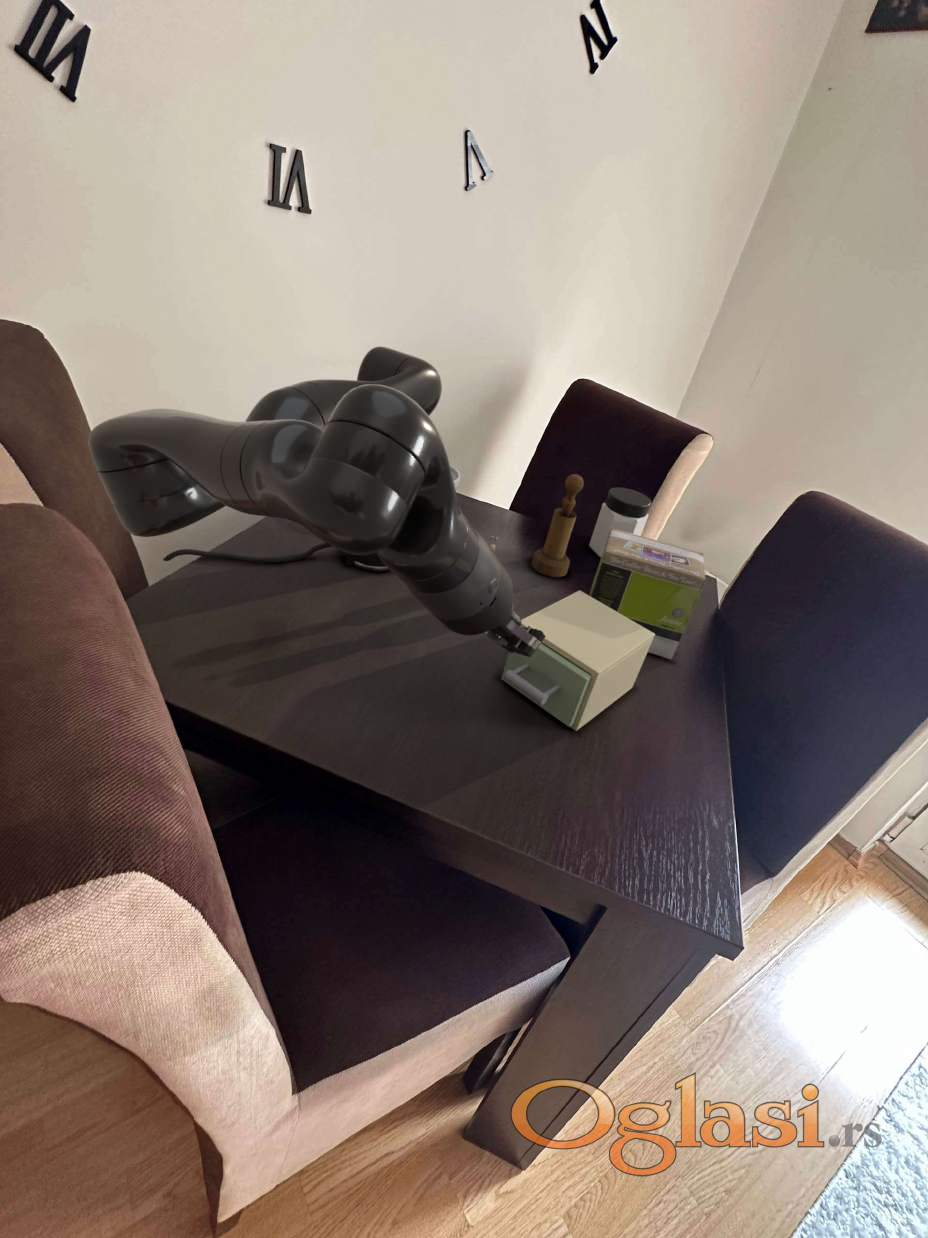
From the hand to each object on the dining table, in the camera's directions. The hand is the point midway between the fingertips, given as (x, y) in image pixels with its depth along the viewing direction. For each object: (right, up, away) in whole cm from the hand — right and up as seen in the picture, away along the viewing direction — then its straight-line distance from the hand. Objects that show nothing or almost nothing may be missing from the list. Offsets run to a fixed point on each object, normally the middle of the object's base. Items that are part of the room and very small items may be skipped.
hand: (513, 643), depth 71 cm
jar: (+24, +16, +58) cm, 65 cm away
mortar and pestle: (+10, +12, +48) cm, 50 cm away
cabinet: (+9, -6, +20) cm, 23 cm away
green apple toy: (-4, +4, +31) cm, 31 cm away
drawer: (+7, -7, +17) cm, 19 cm away
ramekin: (-14, +26, +61) cm, 68 cm away
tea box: (+21, 0, +35) cm, 40 cm away
